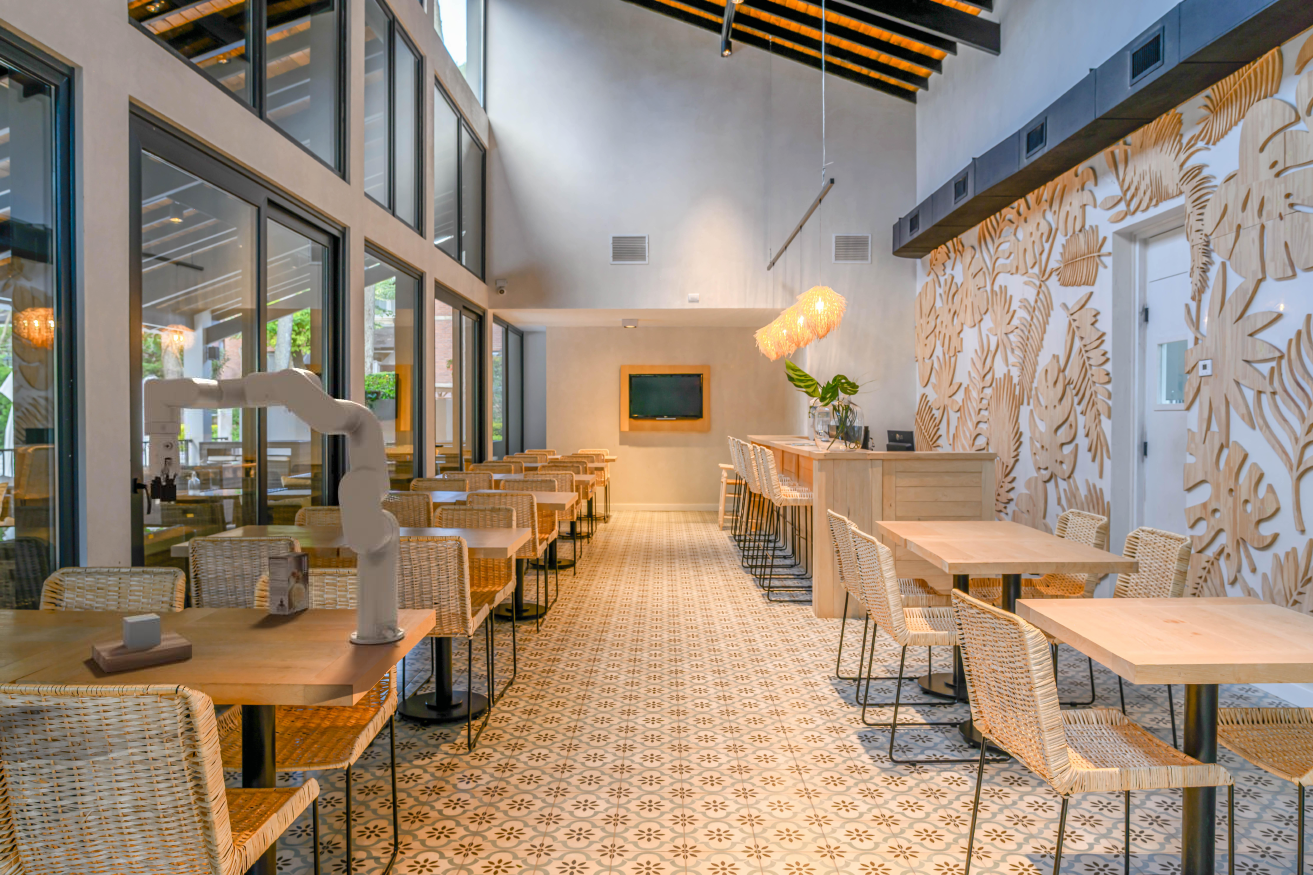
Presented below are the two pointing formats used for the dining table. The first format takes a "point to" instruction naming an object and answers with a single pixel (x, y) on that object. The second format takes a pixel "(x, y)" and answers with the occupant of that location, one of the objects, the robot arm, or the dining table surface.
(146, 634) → the light grey cube
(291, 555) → the coffee box
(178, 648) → the walnut base
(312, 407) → the robot arm
